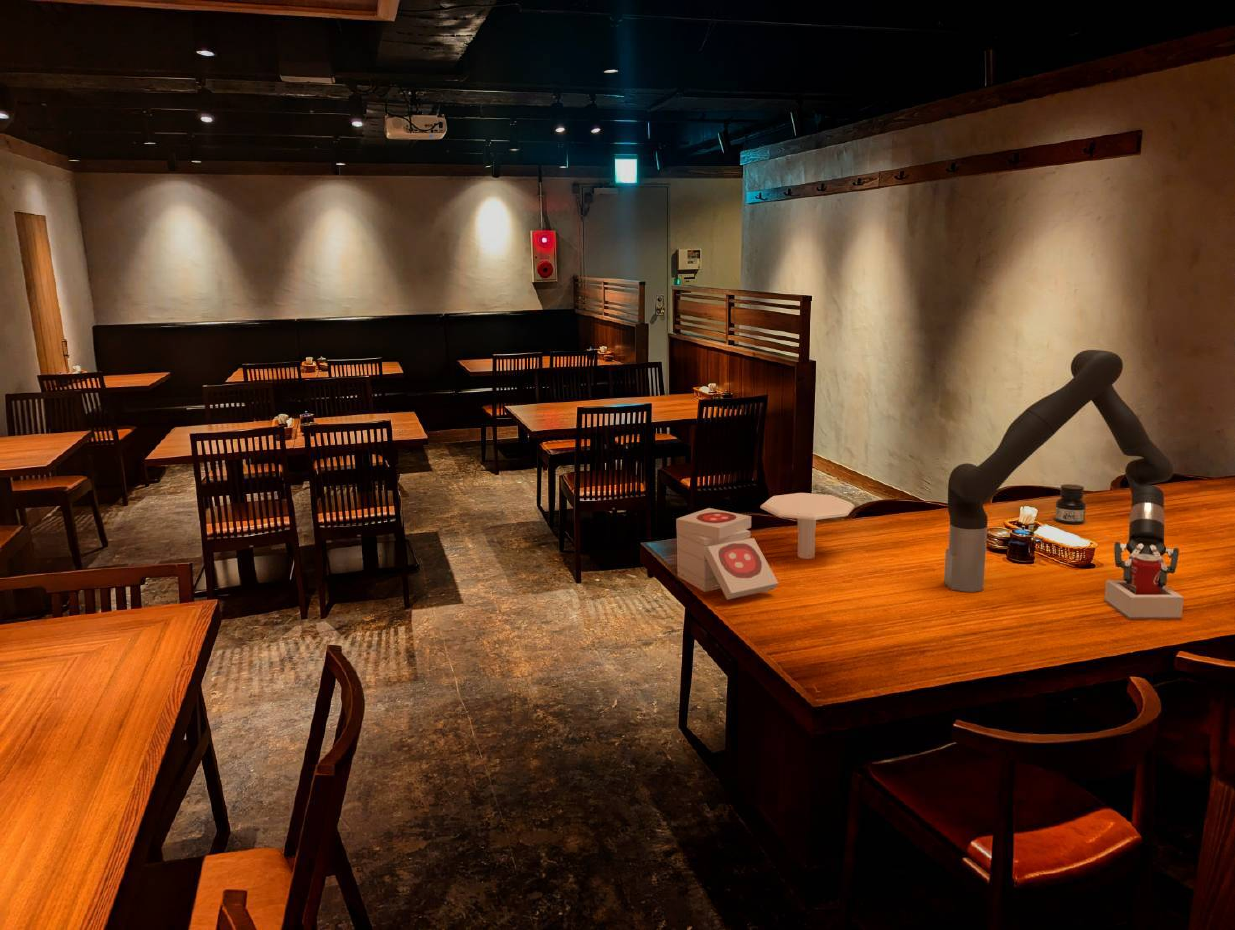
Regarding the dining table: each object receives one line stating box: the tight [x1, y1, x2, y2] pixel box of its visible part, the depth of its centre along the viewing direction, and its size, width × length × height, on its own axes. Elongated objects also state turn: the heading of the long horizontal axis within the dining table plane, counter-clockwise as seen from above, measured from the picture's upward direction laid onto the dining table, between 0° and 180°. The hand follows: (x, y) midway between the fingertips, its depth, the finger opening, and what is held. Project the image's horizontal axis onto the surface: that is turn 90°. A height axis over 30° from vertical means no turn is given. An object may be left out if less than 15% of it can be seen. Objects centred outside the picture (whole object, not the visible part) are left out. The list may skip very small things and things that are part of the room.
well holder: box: [1104, 579, 1185, 620], centre depth 208 cm, size 12×12×6 cm
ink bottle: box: [1054, 483, 1087, 525], centre depth 283 cm, size 10×9×12 cm
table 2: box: [760, 492, 855, 560], centre depth 255 cm, size 28×28×17 cm
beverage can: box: [1128, 554, 1161, 595], centre depth 207 cm, size 6×6×12 cm
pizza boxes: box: [675, 507, 779, 601], centre depth 233 cm, size 19×30×18 cm, turn 26°
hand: (1144, 584), depth 206 cm, fingers closed on beverage can, 6 cm apart
